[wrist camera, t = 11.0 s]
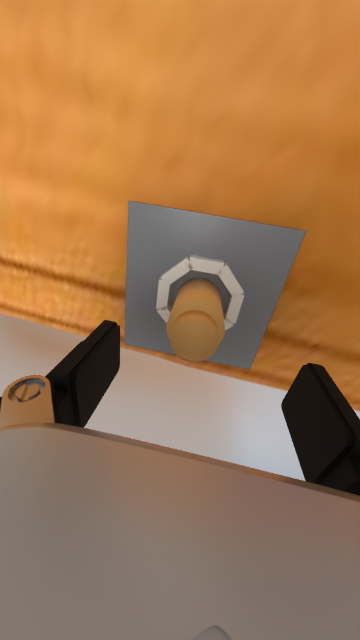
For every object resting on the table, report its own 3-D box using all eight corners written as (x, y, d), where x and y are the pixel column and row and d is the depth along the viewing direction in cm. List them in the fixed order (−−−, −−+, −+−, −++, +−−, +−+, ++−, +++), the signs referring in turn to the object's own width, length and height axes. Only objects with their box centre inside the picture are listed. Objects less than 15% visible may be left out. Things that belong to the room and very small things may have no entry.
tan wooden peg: (225, 281, 19) (234, 320, 12) (215, 320, 20) (218, 372, 14) (181, 273, 19) (166, 307, 12) (175, 313, 21) (159, 360, 14)
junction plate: (299, 229, 17) (311, 232, 15) (248, 362, 24) (251, 375, 22) (133, 201, 18) (124, 200, 16) (128, 338, 24) (121, 349, 22)
